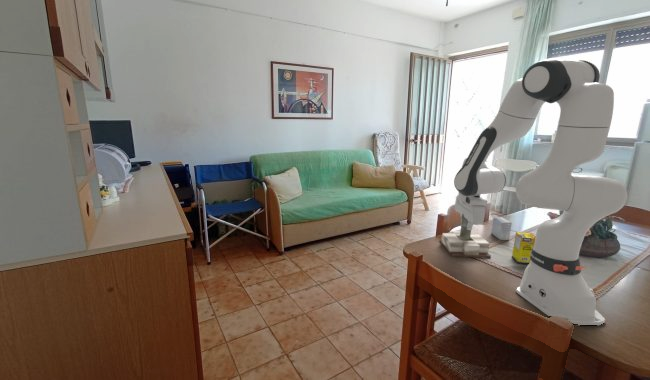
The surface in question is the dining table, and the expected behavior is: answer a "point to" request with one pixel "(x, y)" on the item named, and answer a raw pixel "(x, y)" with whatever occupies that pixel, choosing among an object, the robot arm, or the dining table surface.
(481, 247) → the holder board
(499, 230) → the medicine box
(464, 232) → the peg
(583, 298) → the robot arm
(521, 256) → the supplement box
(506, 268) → the dining table surface
